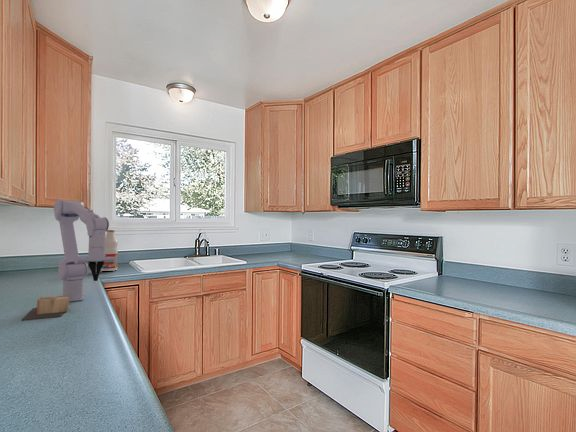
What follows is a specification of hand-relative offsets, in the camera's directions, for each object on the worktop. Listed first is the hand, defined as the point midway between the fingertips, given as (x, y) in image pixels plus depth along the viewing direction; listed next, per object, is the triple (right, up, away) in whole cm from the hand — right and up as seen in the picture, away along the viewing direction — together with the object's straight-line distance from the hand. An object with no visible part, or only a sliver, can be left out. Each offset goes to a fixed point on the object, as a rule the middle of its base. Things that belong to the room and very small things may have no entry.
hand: (95, 280), depth 127 cm
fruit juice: (-43, -12, +85) cm, 96 cm away
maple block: (-6, -7, -7) cm, 12 cm away
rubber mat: (-12, -10, -10) cm, 19 cm away
